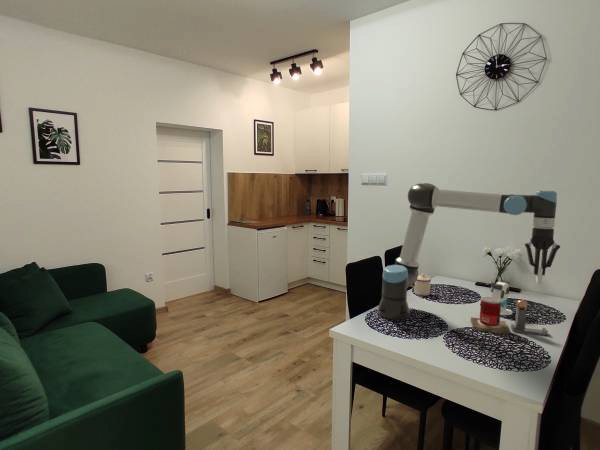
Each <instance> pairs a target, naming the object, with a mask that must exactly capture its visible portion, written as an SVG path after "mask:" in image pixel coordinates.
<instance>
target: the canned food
mask: <svg viewBox="0 0 600 450" xmlns="http://www.w3.org/2000/svg"><path fill="white" fill-rule="evenodd" d="M479 312H480V313H479V318H480V322H481V323H482V324H484V325H488V326H498V325H499V323H500V321H501V315H500V312H501V300H499V299H497V298H493V296H491V297H490V296H482V297H481V299H480V310H479Z"/></svg>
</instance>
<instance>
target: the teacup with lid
mask: <svg viewBox="0 0 600 450" xmlns="http://www.w3.org/2000/svg"><path fill="white" fill-rule="evenodd" d="M431 279H432V278H430V276H427V275H425V273H421V274H420V275H418V278H417V280H416V281H415V283H414V284H413V285H411V286H410V287H412V288H413V289H414V294H415V295H418V296H430V294H431V282H432V281H431Z"/></svg>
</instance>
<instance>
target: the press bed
mask: <svg viewBox="0 0 600 450" xmlns="http://www.w3.org/2000/svg"><path fill="white" fill-rule="evenodd" d="M470 322H471V325H472V329H473V331H478V332H479V331H480V332H488V333H496V334H500V335H501V334H504V335H510V333H511V332H510V329H509V327H508V325H507V324H506V321H505V320H500V323H499V325H498V326H488V325H484V324H482V323H481V322H480V317H474V316H473V317H471V316H470Z"/></svg>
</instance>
